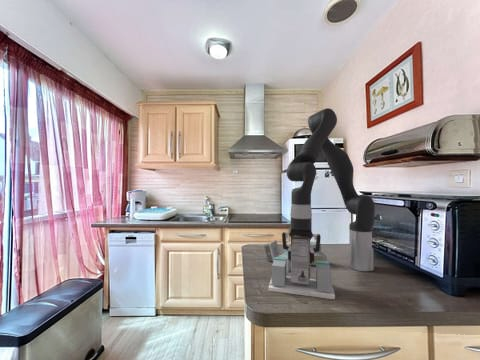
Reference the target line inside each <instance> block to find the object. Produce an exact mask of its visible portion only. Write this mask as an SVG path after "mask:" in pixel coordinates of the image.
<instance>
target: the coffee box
mask: <svg viewBox="0 0 480 360" xmlns="http://www.w3.org/2000/svg"><path fill="white" fill-rule="evenodd" d="M310 242H311V240H310V237H309V236H306V237H303V236H296V235H292V237H290V244H291V271H290V277H291V282H294V283H301V284H309V280H310V279H311V278H310V277H311V265H310Z"/></svg>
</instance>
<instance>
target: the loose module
mask: <svg viewBox="0 0 480 360" xmlns="http://www.w3.org/2000/svg"><path fill="white" fill-rule="evenodd" d="M278 257H283V258H287V273H289V272H291V261H290V260H288V251H284V252H283V253H282V254H280V255H279V256H278Z"/></svg>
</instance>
